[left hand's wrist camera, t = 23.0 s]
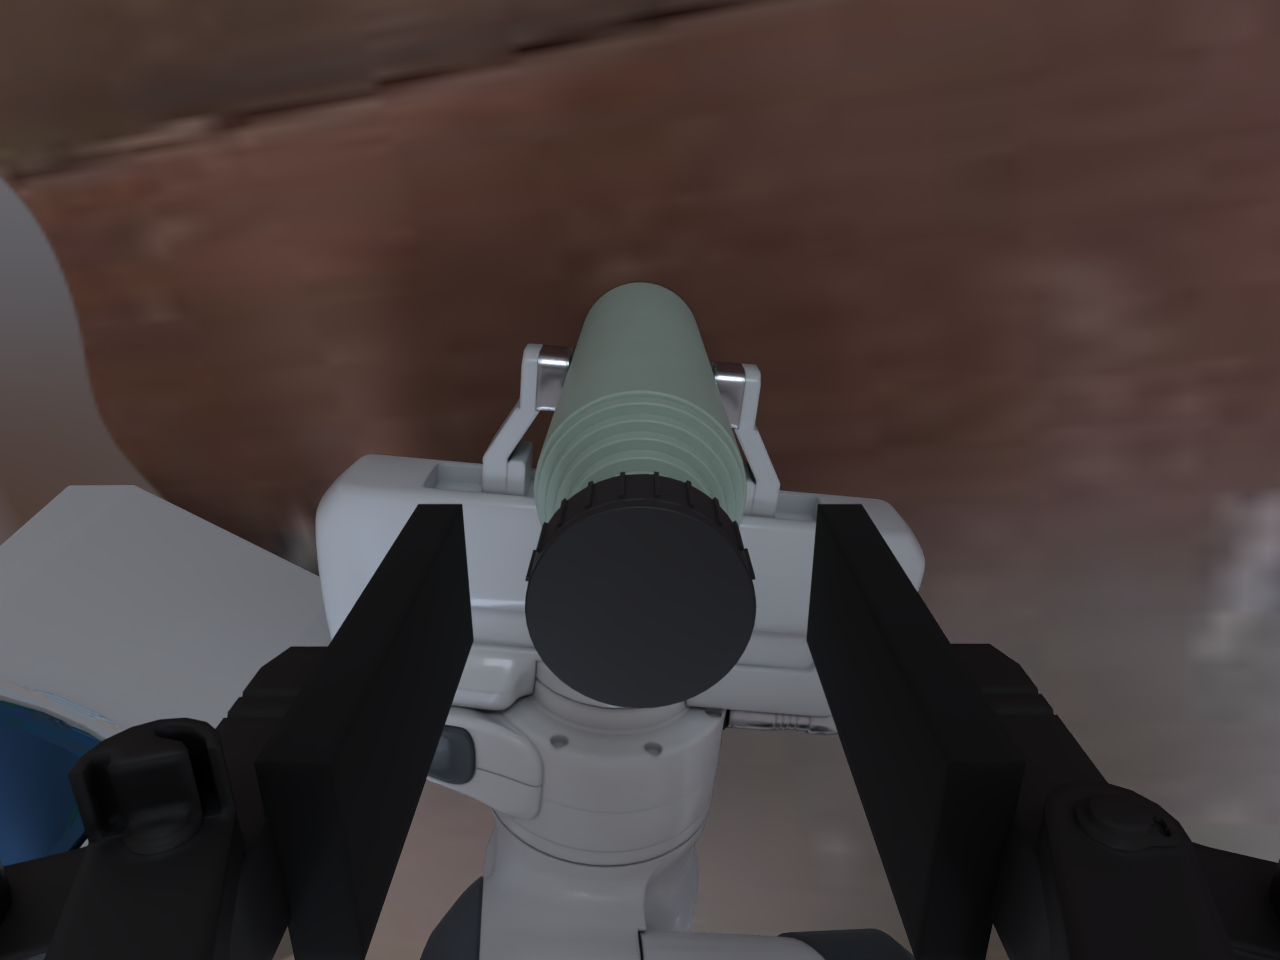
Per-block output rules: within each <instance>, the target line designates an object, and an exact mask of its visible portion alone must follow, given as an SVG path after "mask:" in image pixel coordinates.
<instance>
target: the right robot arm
mask: <svg viewBox="0 0 1280 960" xmlns="http://www.w3.org/2000/svg"><path fill="white" fill-rule="evenodd" d="M572 351H573V349H572V348H567V347H558V346H549V345H543V344H527V346H526V348H525V349H524V353H523V359H522V366H521V388H520V398H519V400H518V401H517V403H516V404H515V406H514V407H513V409H512V410H511V412H510V413H509V415H508V416H507V418H506V419H505V421H504V422H503V424H502V425H501V426H500V428H499V429H498V431H497V432H496V434H495V435H494V437H493V439H492V441H491V443H490V444H489V446H488V448H487V450H486V452H485V454H484V456H483V464H479V463H468V462H457V461H445V460H434V459H423V458H412V457H401V456H390V455H379V454H369V455H365V456H363V457H361V458H359V459H358V460H357V461H356V462H355V463H353V464H352V465H351V466H350V467H349V468H348V469H347V470H346V471H344V472H343V473H342V474H341V475H340V476H339V477H338V478H337V479H336V480H335V481H334V482H333V484H332V485H331V486H330V487H329V489H328V490H327V491H326V492H325V494H324V495H323V497H322V499H321V501H320V503H319V505H318V508H317V512H316V519H315V525H316V549H317V559H318V569H319V577H320V584H321V591H322V597H323V603H324V609H325V614H326V619H327V623H328V628H329V633H330V637H331V641H332V639H333V638H334V636H335V634H336V633H337V631H338V630H339V628H340V627H341V625H342V623H343V622H344V620H345V619H346V617H347V616H348V614H349V612H350V611H351V609H352V608H353V606H354V605H355V603H356V601H357V600H358V598H359V597H360V595H361V593H362V592H363V590H364V589H365V587H366V586H367V584H368V582H369V581H370V579H371V578H372V576H373V575H374V573H375V571H376V570H377V568H378V567H379V565H380V564H381V562H382V560H383V559H384V557H385V556H386V554H387V553H388V551H389V549H390V548H391V546H392V545H393V543H394V541H395V540H396V538H397V537H398V535H399V534H400V532H401V530H402V529H403V527H404V526H405V524H406V523H407V521H408V519H409V518H410V516H411V515H412V513H413V512H414V510H415V508H416V507H417V505H418V504H462V507H463V518H464V530H465V542H466V554H467V566H468V578H469V590H470V602H471V614H472V626H473V637H474V641H473V644H472V647H471V650H470V653H469V656H468V659H467V662H466V665H465V667H464V670H463V673H462V676H461V679H460V682H459V685H458V688H457V691H456V694H455V697H454V700H453V702H452V705H451V708H450V711H449V714H448V717H447V720H446V723H445V726H444V729H443V732H442V735H441V738H440V740H439V743H438V746H437V749H436V752H435V755H434V758H433V761H432V764H431V767H430V770H429V773H428V776H427V778H426V779H427V780H429V781H432V782H435V783H437V784H440V785H443V786H445V787H448V788H450V789H453V790H455V791H457V792H460V793H462V794H464V795H466V796H469V797H471V798H473V799H475V800H477V801H479V802H481V803H483V804H485V805H487V806H489V807H490V808H491V811H492V815H493V818H494V822H495V827H494V830H493V832H492V834H491V837H490V839H489V842H488V845H487V849H486V853H485V859H484V867H483V877H482V876H481V877H480V878H479V879H477V880H476V881H475V882H474V883H473V884H472V885H470V886H469V887H468V888H467V889H466V890H465V892H464V893H463V894H462V895H461V896H460V897H459V898H458V900H457V901H456V902H455V903H454V905H453V906H452V907H451V909H450V910H449V911H448V912H447V914H446V915H445V916H444V917H443V919H442V920H441V921H440V923H439V924H438V925H437V926H436V928H435V929H434V930H433V932H432V933H431V935H430V937H429V939H428V941H427V944H426V946H425V948H424V951H423V953H422V956H421V959H420V960H915V957H914V956H913V955H912V954H911V953H910V952H909V951H907V950H906V949H905V948H904V947H903V946H901V945H900V944H899V943H898V942H896V941H895V940H894V939H893V938H892V937H890V936H889V935H888V934H886V933H884V932H882V931H880V930H877V929H851V930H830V931H809V932H789V933H783V934H780V935H779V936H777V937H776V936H757V935H738V934H719V933H700V932H689V931H690V927H691V922H692V917H693V912H694V906H695V901H696V895H697V889H698V873H699V870H698V860H697V854H696V850H695V845H694V844H695V842H696V841H697V839H698V837H699V836H700V834H701V832H702V830H703V828H704V826H705V824H706V821H707V818H708V815H709V811H710V807H711V800H712V795H713V789H714V782H715V776H716V770H717V763H718V757H719V752H720V746H721V736H722V730H724V729H725V727H726V728H738V729H751V730H771V731H772V730H780V729H781V730H787V729H788V730H797V731H805V732H806V733H809V734H815V735H833V734H838V732H837V729H836V726H835V723H834V720H833V717H832V714H831V711H830V708H829V705H828V702H827V700H826V697H825V694H824V691H823V688H822V685H821V682H820V679H819V676H818V673H817V670H816V667H815V665H814V662H813V659H812V656H811V653H810V650H809V647H808V644H807V641H806V637H807V626H808V614H809V602H810V590H811V578H812V566H813V554H814V542H815V530H816V518H817V507H818V504H862V505H863V507H864V508H865V510H866V512H867V513H868V515H869V516H870V518H871V519H872V521H873V523H874V524H875V526H876V527H877V529H878V530H879V532H880V534H881V535H882V537H883V538H884V540H885V541H886V543H887V545H888V546H889V548H890V549H891V551H892V553H893V554H894V556H895V557H896V559H897V560H898V562H899V564H900V565H901V567H902V568H903V570H904V571H905V573H906V575H907V576H908V578H909V579H910V581H911V582H912V584H913V586H914V587H915V589H916V590H917V592H918V591H919V588H920V585H921V582H922V578H923V574H924V569H925V557H924V554H923V550H922V548H921V546H920V544H919V542H918V540H917V539H916V537H915V535H914V534H913V532H912V530H911V529H910V527H909V526H908V524H907V523H906V522H905V521H904V520H903V518H902V517H901V516H900V515H899V514H898V512H897V511H896V510H895V509H894V508H893V507H892V506H891V505H890V504H889V503H888V502H886V501H884V500H880V499H873V498H862V497H850V496H839V495H828V494H817V493H805V492H794V491H783V490H779V489H780V482H779V480H778V477H777V475H776V473H775V470H774V468H773V465H772V463H771V461H770V458H769V456H768V453H767V451H766V449H765V446H764V444H763V441H762V439H761V437H760V434H759V432H758V429H757V427H756V425H755V421H756V414H757V407H758V401H759V394H760V387H761V373H760V371H759V369H758V367H757V365H753V364H742V363H731V362H719V361H712V364H711V368H712V371H713V374H714V377H715V380H716V383H717V386H718V389H719V392H720V395H721V398H722V401H723V404H724V407H725V410H726V413H727V416H728V419H729V422H730V425H731V428H734V430H735V433H736V435H737V437H738V440H739V442H740V444H741V447H742V449H743V451H744V454H745V456H746V458H747V461H748V463H747V462H746V461H745V460H743V464H744V469H745V473H746V482H747V496H746V504H745V509H744V513H743V516H742V520H741V523H740V526H739V530H740V534H741V538H742V542H743V545H744V549H745V548H748V552H749V556H750V559H751V563H752V567H753V570H754V574H755V578H756V579H755V580H752V581H753V585H754V590H755V596H756V617H755V624H754V629H753V632H752V635H751V639H750V641H749V643H748V645H747V647H746V649H745V651H744V653H743V655H742V656H741V658H740V659H739V661H738V662H737V664H736V665H735V666H734V667H733V668H732V669H731V671H730V672H729V673H728V674H727V675H726V676H725V677H724V678H722V679H721V680H720V681H719V682H718V683H717V684H715V685H714V686H712V687H711V688H709V689H708V690H706V691H705V692H703V693H701V694H699V695H697V696H695V697H693V698H690V699H688V700H685V701H683V702H680V703H676V704H672V705H669V706H663V707H657V708H642V709H637V708H624V707H618V706H612V705H608V704H605V703H601V702H598V701H595V700H593V699H591V698H588V697H586V696H584V695H582V694H580V693H578V692H577V691H575V690H573V689H572V688H570V687H569V686H567V685H566V684H565V683H563V682H562V681H561V680H560V679H559V678H558V677H556V676H555V675H554V674H553V673H552V672H551V671H550V669H549V668H548V667H547V666H546V665H545V663H544V662H543V661H542V659H541V658H540V656H539V654H538V653H537V651H536V649H535V647H534V645H533V643H532V640H531V638H530V635H529V631H528V628H527V624H526V616H525V597H526V591H527V586H528V581H525V579H526V575H527V571H528V568H529V564H530V560H531V556H532V553H533V550H536V548H537V544H538V540H539V537H540V533H541V529H542V527H541V524H540V521H539V517H538V514H537V510H536V505H535V500H534V479H535V472H536V468H532V456H533V444H532V443H531V441H526V440H521V438H522V437H523V435H524V434H525V432H526V431H527V429H528V428H529V426H530V425H531V423H532V422H533V420H534V419H535V417H536V416H537V414H538V413H539V411H540V410H546V411H555V409H556V406H557V403H558V400H559V397H560V394H561V391H562V388H563V385H564V382H565V379H566V376H567V372H568V369H569V366H570V363H571V360H572Z"/></svg>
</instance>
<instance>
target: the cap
mask: <svg viewBox="0 0 1280 960" xmlns="http://www.w3.org/2000/svg"><path fill="white" fill-rule="evenodd" d="M755 579H756V578H755V574H754V570H753V567H752V563H751V559H750V556H749V552H748V548H745V549H744V545H743V542H742V538H741V534H740V530H739V526H738V523H737V522H736V520H735V521H733V522H732V521H731V519H730V518H729V516H728V515H727V513H726V512H725V511H724V510H723V509H722V508H721V507H720V505H719V501H718V499H717V498H716V497H714V498H713V499H711V498H710V497H709V496H708V495H706V494H705V493H703V492H702V491H700V490H698V489H697V488H695V487H693V486H692V484H691V481H688V480H687V481H686V483H685V482H682V481H679V480H676V479H673V478H669V477H664V476H659V472H655V471H654V474H651V475H650V474H631V475H626V474H625V472H620V476H617V477H616V476H615V477H612V478H609V479H605V480H602V481H599V482H597V483H595V484H594V482H593V481H590V482H588V487H586V488H584V489H582V490H581V491H579V492H578V493H576V494H575V495H573V496H572V497H571V498H570V499H568V500H567V499H565V498H564V499H563V500H562V501H561V506H560V508H559V509H558V510H557V511H556V512H555V513H554V515H553V516H552V518H551V519H550V521H549V522H548V523H546V522H544V523H543V525H542V529H541V533H540V537H539V540H538V544H537V548H536V550H533V553H532V556H531V560H530V564H529V568H528V571H527V575H526V579H525V581H528V586H527V591H526V597H525V616H526V624H527V628H528V631H529V635H530V638H531V640H532V643H533V645H534V647H535V649H536V651H537V653H538V654H539V656H540V658H541V659H542V661H543V662H544V663H545V665H546V666H547V667H548V668H549V669H550V671H551V672H552V673H553V674H554V675H555V676H556V677H558V678H559V679H560V680H561V681H562V682H563V683H565V684H566V685H567V686H569V687H570V688H572V689H573V690H575V691H577V692H578V693H580V694H582V695H584V696H586V697H588V698H591V699H593V700H595V701H598V702H601V703H605V704H608V705H612V706H618V707H624V708H637V709H642V708H657V707H663V706H669V705H672V704H676V703H680V702H683V701H685V700H688V699H690V698H693V697H695V696H697V695H699V694H701V693H703V692H705V691H706V690H708V689H709V688H711V687H712V686H714V685H715V684H717V683H718V682H719V681H720V680H721V679H722V678H724V677H725V676H726V675H727V674H728V673H729V672H730V671H731V669H732V668H733V667H734V666H735V665H736V664H737V662H738V661H739V659H740V658H741V656H742V655H743V653H744V651H745V649H746V647H747V645H748V643H749V641H750V639H751V635H752V632H753V629H754V624H755V617H756V596H755V590H754V585H753V581H752V580H755Z"/></svg>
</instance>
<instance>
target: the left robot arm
mask: <svg viewBox="0 0 1280 960" xmlns="http://www.w3.org/2000/svg"><path fill="white" fill-rule="evenodd" d="M473 641H474V637H473V626H472V614H471V602H470V590H469V578H468V566H467V554H466V542H465V530H464V518H463V507H462V504H418V505H417V507H416V508H415V510H414V512H413V513H412V515H411V516H410V518H409V519H408V521H407V523H406V524H405V526H404V527H403V529H402V530H401V532H400V534H399V535H398V537H397V538H396V540H395V541H394V543H393V545H392V546H391V548H390V549H389V551H388V553H387V554H386V556H385V557H384V559H383V560H382V562H381V564H380V565H379V567H378V568H377V570H376V571H375V573H374V575H373V576H372V578H371V579H370V581H369V582H368V584H367V586H366V587H365V589H364V590H363V592H362V593H361V595H360V597H359V598H358V600H357V601H356V603H355V605H354V606H353V608H352V609H351V611H350V612H349V614H348V616H347V617H346V619H345V620H344V622H343V623H342V625H341V627H340V628H339V630H338V631H337V633H336V634H335V636H334V638H333V639H332V641H331V642H330V644H329V645H328V646H291V647H289V648H288V649H287V650H285V651H284V652H282V653H281V654H279V655H278V656H277V657H275V658H274V659H272V660H271V661H269V662H268V663H266V664H265V665H264V666H262V667H261V668H260V669H259V670H258V672H257V673H256V675H255V676H254V677H253V679H252V680H251V681H250V683H249V684H248V685H247V687H246V688H245V689H244V691H243V695H242V697H239V698H238V699H237V700H236V702H235V703H234V704H233V706H232V707H231V708H230V710H229V711H228V715H227V718H223V719H222V721H221V722H220V723H219V725H218V726H217V727H216V729H215V728H214V727H212V726H211V725H210V724H209V723H208V722H205V721H201V720H196V719H191V718H171V719H159V720H155V721H152V722H148V723H144V724H141V725H137V726H133V727H130V728H128V729H126V730H124V731H122V732H120V733H118V734H115V735H113V736H111V737H109V738H107V739H105V740H103V741H102V742H100V743H99V744H98V745H96V746H95V747H94V748H92V749H91V750H90V751H88V752H87V753H86V754H84V755H83V756H82V757H81V758H80V759H79V760H78V762H77V763H76V764H75V766H74V767H73V768H72V770H71V771H70V772H69V774H68V778H69V781H70V784H71V787H72V790H73V794H74V797H75V800H76V803H77V807H78V810H79V813H80V816H81V819H82V823H83V826H84V829H85V832H86V836H87V839H88V842H89V843H88V845H87V846H85V847H82V848H78V849H75V850H72V851H68V852H63V853H59V854H55V855H50V856H46V857H42V858H37V859H33V860H29V861H24V862H20V863H16V864H11V865H7V866H3V865H2V862H1V860H0V960H272V959H273V957H274V954H275V952H276V950H277V948H278V946H279V944H280V941H281V939H282V937H283V935H284V933H285V930H286V928H287V926H288V929H289V933H290V938H291V943H292V948H293V953H294V958H295V960H365V957H366V954H367V951H368V948H369V945H370V942H371V939H372V936H373V933H374V930H375V927H376V925H377V922H378V919H379V916H380V913H381V910H382V907H383V904H384V901H385V898H386V895H387V892H388V889H389V887H390V884H391V881H392V878H393V875H394V872H395V869H396V866H397V863H398V860H399V857H400V854H401V851H402V849H403V846H404V843H405V840H406V837H407V834H408V831H409V828H410V825H411V822H412V819H413V816H414V814H415V811H416V808H417V805H418V802H419V799H420V796H421V793H422V790H423V787H424V784H425V781H426V778H427V776H428V773H429V770H430V767H431V764H432V761H433V758H434V755H435V752H436V749H437V746H438V743H439V740H440V738H441V735H442V732H443V729H444V726H445V723H446V720H447V717H448V714H449V711H450V708H451V705H452V702H453V700H454V697H455V694H456V691H457V688H458V685H459V682H460V679H461V676H462V673H463V670H464V667H465V665H466V662H467V659H468V656H469V653H470V650H471V647H472V644H473ZM806 641H807V644H808V647H809V650H810V653H811V656H812V659H813V662H814V665H815V667H816V670H817V673H818V676H819V679H820V682H821V685H822V688H823V691H824V694H825V697H826V700H827V702H828V705H829V708H830V711H831V714H832V717H833V720H834V723H835V726H836V729H837V732H838V735H839V738H840V740H841V743H842V746H843V749H844V752H845V755H846V758H847V761H848V764H849V767H850V770H851V773H852V776H853V778H854V781H855V784H856V787H857V790H858V793H859V796H860V799H861V802H862V805H863V808H864V811H865V814H866V816H867V819H868V822H869V825H870V828H871V831H872V834H873V837H874V840H875V843H876V846H877V849H878V851H879V854H880V857H881V860H882V863H883V866H884V869H885V872H886V875H887V878H888V881H889V884H890V887H891V889H892V892H893V895H894V898H895V901H896V904H897V907H898V910H899V913H900V916H901V919H902V922H903V925H904V927H905V930H906V933H907V936H908V939H909V942H910V945H911V948H912V951H913V954H914V957H915V960H985V958H986V953H987V948H988V943H989V938H990V934H991V929H992V924H994V926H995V928H996V931H997V933H998V935H999V937H1000V939H1001V942H1002V944H1003V946H1004V948H1005V950H1006V952H1007V955H1008V957H1009V959H1010V960H1280V860H1279V862H1278V863H1275V862H1271V861H1267V860H1262V859H1258V858H1254V857H1249V856H1245V855H1241V854H1236V853H1232V852H1227V851H1223V850H1219V849H1214V848H1210V847H1207V846H1203V845H1200V844H1197V843H1193V842H1192V841H1191V840H1190V838H1189V837H1188V835H1187V834H1186V832H1185V831H1184V829H1183V828H1182V826H1181V825H1180V823H1179V822H1178V821H1177V820H1176V819H1175V818H1173V817H1172V816H1171V815H1170V814H1169V813H1168V812H1166V811H1165V810H1164V809H1163V808H1162V807H1160V806H1159V805H1158V804H1156V803H1154V802H1152V801H1151V800H1149V799H1147V798H1145V797H1143V796H1141V795H1139V794H1137V793H1135V792H1134V791H1132V790H1129V789H1125V788H1122V787H1119V786H1115V785H1112V784H1109V783H1107V781H1106V780H1105V779H1104V777H1103V776H1102V775H1101V773H1100V772H1099V771H1098V769H1097V768H1096V767H1095V765H1094V764H1093V763H1092V761H1091V760H1090V759H1089V757H1088V756H1087V755H1086V753H1085V752H1084V750H1083V749H1082V748H1081V746H1080V745H1079V744H1078V742H1077V741H1076V740H1075V738H1074V737H1073V736H1072V734H1071V733H1070V732H1069V730H1068V729H1067V728H1066V726H1065V725H1064V724H1063V722H1062V721H1061V720H1060V718H1059V717H1058V716H1057V715H1054V714H1053V709H1052V707H1051V706H1050V705H1049V703H1048V702H1047V701H1046V699H1045V698H1044V697H1043V695H1042V694H1038V689H1037V687H1036V686H1035V685H1034V683H1033V682H1032V681H1031V679H1030V678H1029V677H1028V675H1027V674H1026V673H1025V671H1024V670H1023V669H1022V667H1021V666H1020V665H1019V664H1018V663H1016V662H1015V661H1013V660H1012V659H1011V658H1009V657H1008V656H1006V655H1005V654H1003V653H1002V652H1000V651H999V650H998V649H996V648H995V647H993V646H992V645H990V644H950V642H949V641H948V639H947V638H946V636H945V634H944V633H943V631H942V630H941V628H940V627H939V625H938V623H937V622H936V620H935V619H934V617H933V616H932V614H931V612H930V611H929V609H928V608H927V606H926V605H925V603H924V601H923V600H922V598H921V597H920V595H919V593H918V592H917V590H916V589H915V587H914V586H913V584H912V582H911V581H910V579H909V578H908V576H907V575H906V573H905V571H904V570H903V568H902V567H901V565H900V564H899V562H898V560H897V559H896V557H895V556H894V554H893V553H892V551H891V549H890V548H889V546H888V545H887V543H886V541H885V540H884V538H883V537H882V535H881V534H880V532H879V530H878V529H877V527H876V526H875V524H874V523H873V521H872V519H871V518H870V516H869V515H868V513H867V512H866V510H865V508H864V507H863V505H862V504H818V507H817V518H816V530H815V542H814V554H813V566H812V578H811V590H810V602H809V614H808V626H807V637H806Z"/></svg>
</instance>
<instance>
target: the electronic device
mask: <svg viewBox="0 0 1280 960" xmlns="http://www.w3.org/2000/svg"><path fill="white" fill-rule="evenodd" d="M330 642H331V637H330V633H329V628H328V623H327V619H326V614H325V609H324V603H323V597H322V591H321V584H320V577H319V576H317V575H315V574H313V573H311V572H309V571H307V570H305V569H303V568H301V567H299V566H297V565H295V564H293V563H291V562H289V561H287V560H285V559H283V558H281V557H279V556H277V555H275V554H273V553H271V552H269V551H267V550H264V549H262V548H260V547H258V546H256V545H254V544H252V543H250V542H248V541H246V540H244V539H242V538H240V537H238V536H236V535H234V534H232V533H230V532H228V531H226V530H224V529H222V528H220V527H218V526H216V525H214V524H212V523H210V522H208V521H206V520H204V519H202V518H200V517H198V516H196V515H194V514H192V513H190V512H188V511H186V510H184V509H182V508H180V507H178V506H176V505H174V504H172V503H170V502H168V501H166V500H164V499H162V498H160V497H157V496H155V495H153V494H151V493H149V492H147V491H145V490H143V489H141V488H139V487H137V486H135V485H71V486H68V487H67V488H65V489H64V490H63V491H62V492H61V493H60V494H59V495H57V496H56V497H55V498H54V499H53V500H52V501H51V502H50V503H49V504H47V505H46V506H45V507H44V508H43V509H42V510H41V511H39V512H38V513H37V514H36V515H35V516H34V517H33V518H31V519H30V520H29V521H28V522H27V523H26V524H25V525H24V526H22V527H21V528H20V529H19V530H18V531H17V532H16V533H14V534H13V535H12V536H11V537H10V538H9V539H8V540H7V541H5V542H4V543H3V544H2V545H1V546H0V860H1V862H2V865H3V866H7V865H11V864H16V863H20V862H24V861H29V860H33V859H37V858H42V857H46V856H50V855H55V854H59V853H63V852H68V851H72V850H75V849H78V848H82V847H85V846H87V845H88V843H89V842H88V839H87V836H86V832H85V829H84V826H83V823H82V819H81V816H80V813H79V810H78V807H77V803H76V800H75V797H74V794H73V790H72V787H71V784H70V781H69V778H68V774H69V772H70V771H71V770H72V768H73V767H74V766H75V764H76V763H77V762H78V760H79V759H80V758H81V757H82V756H83V755H84V754H86V753H87V752H88V751H90V750H91V749H92V748H94V747H95V746H96V745H98V744H99V743H100V742H102V741H103V740H105V739H107V738H109V737H111V736H113V735H115V734H118V733H120V732H122V731H124V730H126V729H128V728H130V727H133V726H137V725H141V724H144V723H148V722H152V721H155V720H159V719H171V718H191V719H196V720H201V721H205V722H208V723H209V724H210V725H211V726H212V727H214V728H215V729H216V727H217V726H218V725H219V723H220V722H221V721H222V719H223V718H227V715H228V711H229V710H230V708H231V707H232V706H233V704H234V703H235V702H236V700H237V699H238V698H239V697H242V695H243V691H244V689H245V688H246V687H247V685H248V684H249V683H250V681H251V680H252V679H253V677H254V676H255V675H256V673H257V672H258V670H259V669H260V668H261V667H262V666H264V665H265V664H266V663H268V662H269V661H271V660H272V659H274V658H275V657H277V656H278V655H279V654H281V653H282V652H284V651H285V650H287V649H288V648H289V647H291V646H328V645H329V644H330Z"/></svg>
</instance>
